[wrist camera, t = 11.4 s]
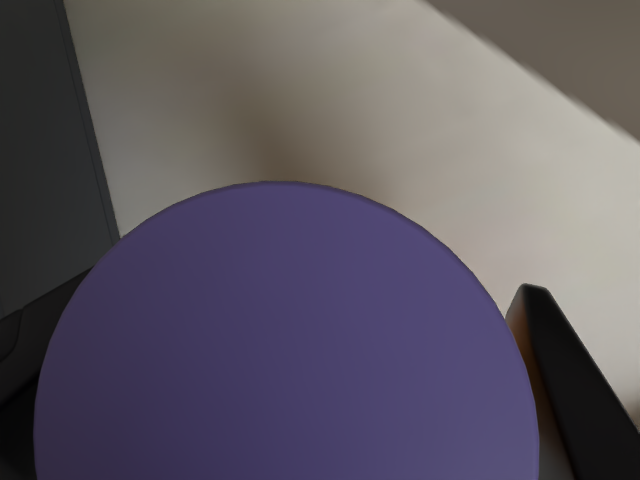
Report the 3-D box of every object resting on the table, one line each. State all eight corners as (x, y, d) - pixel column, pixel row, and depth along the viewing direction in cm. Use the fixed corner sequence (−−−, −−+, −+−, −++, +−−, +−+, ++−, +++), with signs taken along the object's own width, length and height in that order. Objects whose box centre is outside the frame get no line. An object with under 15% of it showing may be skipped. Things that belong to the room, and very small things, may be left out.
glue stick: (400, 400, 15) (426, 812, 4) (274, 348, 16) (-40, 568, 4) (448, 271, 15) (623, 287, 4) (321, 224, 16) (131, 112, 4)
